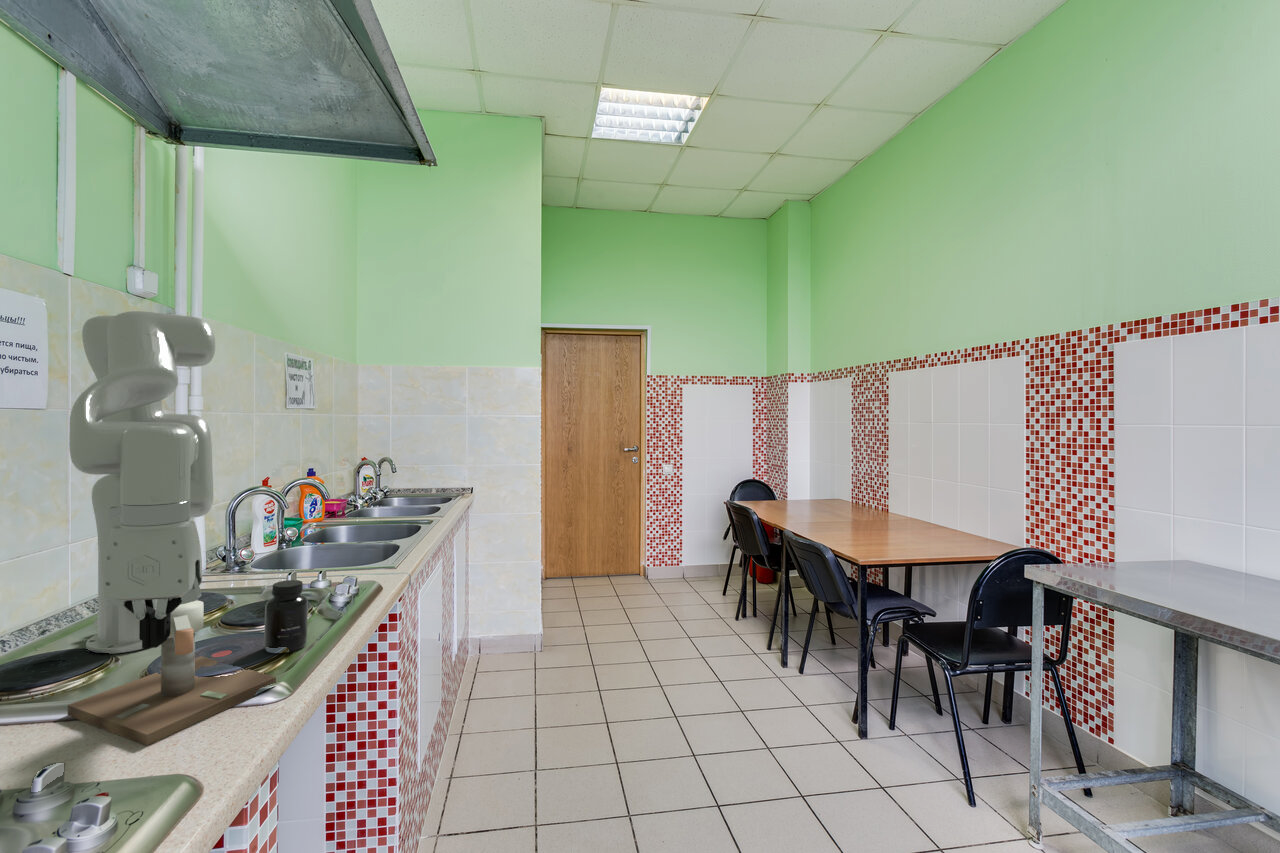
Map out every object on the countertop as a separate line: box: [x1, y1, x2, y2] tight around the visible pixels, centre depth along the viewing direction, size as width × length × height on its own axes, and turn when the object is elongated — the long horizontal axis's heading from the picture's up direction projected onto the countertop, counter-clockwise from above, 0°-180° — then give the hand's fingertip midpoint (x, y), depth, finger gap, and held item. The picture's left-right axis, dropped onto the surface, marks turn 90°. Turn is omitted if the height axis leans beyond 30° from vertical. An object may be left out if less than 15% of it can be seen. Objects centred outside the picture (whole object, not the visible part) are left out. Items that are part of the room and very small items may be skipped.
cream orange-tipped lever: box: [168, 599, 205, 655], centre depth 85 cm, size 14×6×4 cm, turn 42°
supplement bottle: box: [263, 579, 309, 653], centre depth 108 cm, size 7×7×12 cm
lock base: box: [67, 632, 277, 747], centre depth 88 cm, size 18×18×10 cm
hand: (155, 643), depth 82 cm, fingers closed
